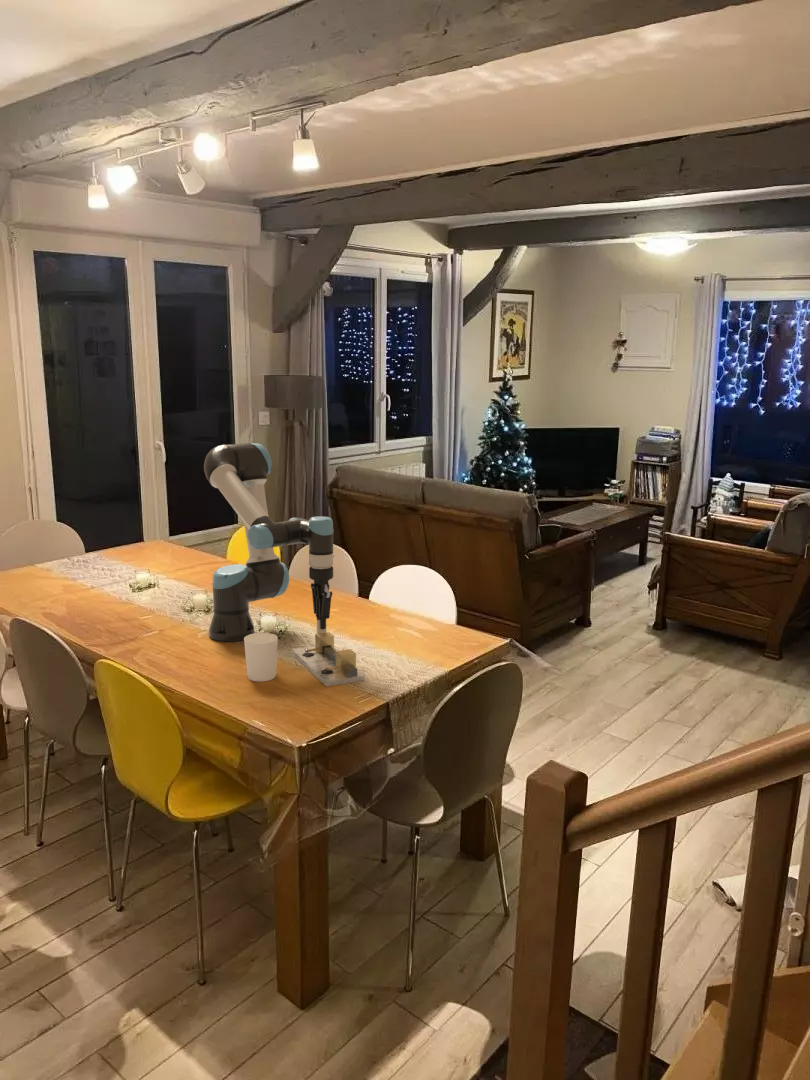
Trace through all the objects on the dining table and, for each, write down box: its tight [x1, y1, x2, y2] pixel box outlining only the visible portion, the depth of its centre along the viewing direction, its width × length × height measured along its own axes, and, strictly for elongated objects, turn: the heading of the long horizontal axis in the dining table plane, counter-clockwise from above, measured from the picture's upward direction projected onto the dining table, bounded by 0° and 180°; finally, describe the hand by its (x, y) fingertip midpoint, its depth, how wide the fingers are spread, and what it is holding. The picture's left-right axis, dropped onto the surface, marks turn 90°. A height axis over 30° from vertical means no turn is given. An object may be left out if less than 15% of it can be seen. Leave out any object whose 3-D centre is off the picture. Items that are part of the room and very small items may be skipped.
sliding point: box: [305, 631, 335, 653], centre depth 260 cm, size 9×4×5 cm, turn 116°
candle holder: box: [243, 632, 279, 683], centre depth 242 cm, size 10×10×12 cm
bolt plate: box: [291, 645, 365, 687], centre depth 251 cm, size 12×30×7 cm, turn 26°
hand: (321, 637), depth 263 cm, fingers closed
